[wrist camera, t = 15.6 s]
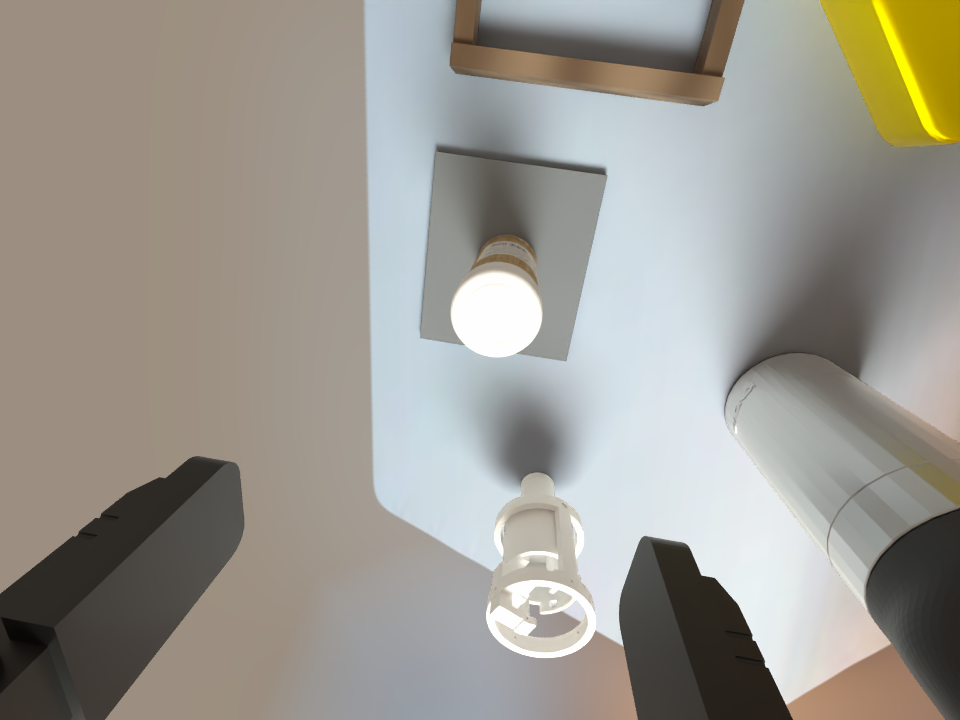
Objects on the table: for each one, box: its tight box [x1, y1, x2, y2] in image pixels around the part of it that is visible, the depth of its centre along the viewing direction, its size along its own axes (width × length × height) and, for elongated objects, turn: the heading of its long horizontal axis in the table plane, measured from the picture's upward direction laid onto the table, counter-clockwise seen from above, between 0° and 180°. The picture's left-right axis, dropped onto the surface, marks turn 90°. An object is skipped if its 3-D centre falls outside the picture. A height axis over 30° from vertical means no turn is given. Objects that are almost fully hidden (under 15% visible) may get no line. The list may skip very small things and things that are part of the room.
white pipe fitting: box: [487, 472, 596, 658], centre depth 36 cm, size 7×7×15 cm
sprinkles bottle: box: [450, 235, 543, 357], centre depth 28 cm, size 5×5×14 cm
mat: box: [420, 152, 607, 361], centre depth 35 cm, size 12×14×1 cm
